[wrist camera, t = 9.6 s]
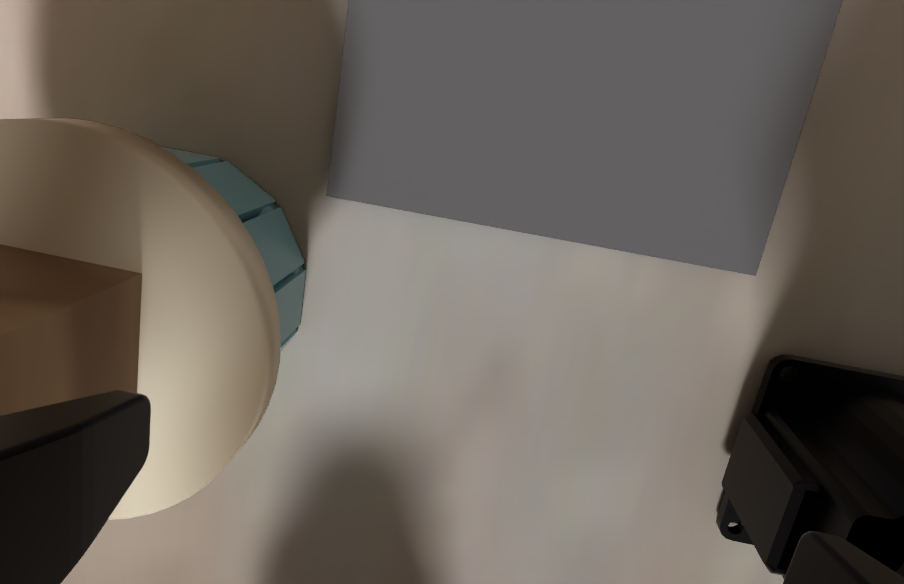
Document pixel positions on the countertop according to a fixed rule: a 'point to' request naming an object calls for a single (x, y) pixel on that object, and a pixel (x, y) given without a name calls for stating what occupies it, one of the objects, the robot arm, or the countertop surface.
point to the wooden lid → (132, 297)
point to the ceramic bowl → (260, 233)
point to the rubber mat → (582, 117)
